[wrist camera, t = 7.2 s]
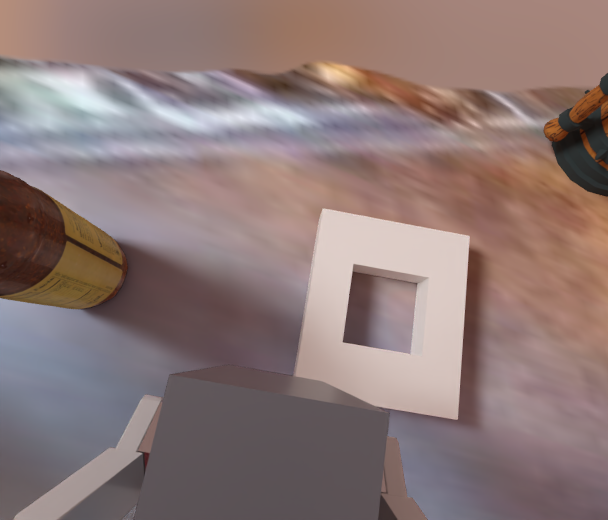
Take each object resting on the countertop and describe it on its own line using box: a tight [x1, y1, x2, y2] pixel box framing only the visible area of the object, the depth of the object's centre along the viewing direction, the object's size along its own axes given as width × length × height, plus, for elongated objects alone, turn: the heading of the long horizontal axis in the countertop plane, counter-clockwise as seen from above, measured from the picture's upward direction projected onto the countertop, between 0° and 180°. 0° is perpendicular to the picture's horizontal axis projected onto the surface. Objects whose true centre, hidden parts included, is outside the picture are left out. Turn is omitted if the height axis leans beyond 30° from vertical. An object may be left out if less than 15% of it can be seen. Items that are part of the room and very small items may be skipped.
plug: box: [134, 365, 390, 520], centre depth 11 cm, size 4×4×10 cm
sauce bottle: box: [0, 170, 128, 309], centre depth 21 cm, size 6×6×20 cm
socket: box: [293, 208, 470, 420], centre depth 31 cm, size 12×14×2 cm
